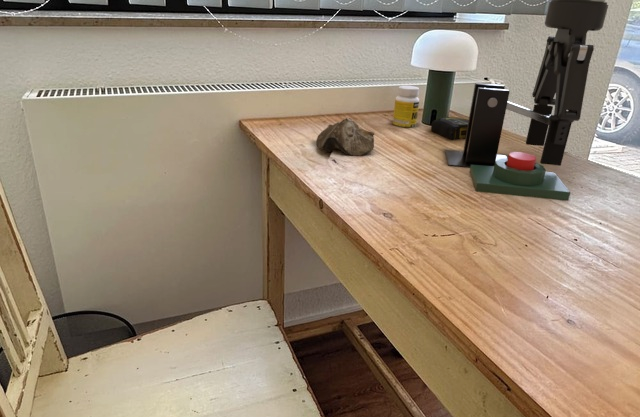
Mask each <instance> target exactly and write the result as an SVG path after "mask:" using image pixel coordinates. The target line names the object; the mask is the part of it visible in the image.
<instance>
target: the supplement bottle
mask: <svg viewBox="0 0 640 417" xmlns="http://www.w3.org/2000/svg"><path fill="white" fill-rule="evenodd" d="M397 94H398V95H397V96H395V99H394V108H393V117H392V125H393V126H395V127H398V128H406V129H411V128H415V127H417V122H418V114H419V109H420V108H419V107H420V98H419V97H418V96H419V94H420V88H419V87H418V86H414V85H400V86H398V90H397Z"/></svg>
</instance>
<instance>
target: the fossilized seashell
mask: <svg viewBox="0 0 640 417" xmlns="http://www.w3.org/2000/svg"><path fill="white" fill-rule="evenodd" d="M317 135H318V136H317V138H316V143H315V145H316V146H315V147H316V148H317V150H319V151H324V152H328V153H329V152H330V153H333V151H341V152H342V153H343V154H345V155H347V156H349V157H363V156H367V154H369V153H370V152H372V150H374V148H375V138H374V136H375V132H373V131H370V130H366V129H363V128H361V127H360V126H359V125H358V123H357V122H356V121H354V120H353V119H352V118H350V117H345V118H344V119H342V120H340V121H338V122H335V123H334V124H328V125H327V127H326V128H324V129H323V130H322V131H321V132H320V133H319V134H317Z"/></svg>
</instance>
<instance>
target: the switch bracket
mask: <svg viewBox="0 0 640 417" xmlns="http://www.w3.org/2000/svg"><path fill="white" fill-rule="evenodd" d="M483 87H485V88H483ZM510 93H511V91H510V90H509V89H506V85H504V84H492V83H481V82H480V83H479V82H475V83H474V86H473V92H472V98H471V103H470V109H469V116H468V120H469V121H468V127H467V132H466V138H465V139H464V145H463V150H450V149H445V150H444V154H445V158H446V162H447V166H448V167H454V168H455V167H457V168H467V169H470V166H471V165H481V166H492V167H494V165H495V161H497V160H499V159H502V158H508V156H507V155H506V154H498V151H499V146H500V141H501V136H502V132H503V127H504V121H505V116H506V112H507V109H506V107H507V102H509V97H510Z"/></svg>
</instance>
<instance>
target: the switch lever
mask: <svg viewBox="0 0 640 417" xmlns="http://www.w3.org/2000/svg"><path fill="white" fill-rule="evenodd" d="M483 88H485V87H483ZM506 110H507V111H511V112H513V113H515V114H519V115H521V116H525V117H527V118H530V119H531V118H532V119H535V120H537V121H540V122H543V123H546V124H548V125H549V124H550V121H549V120H548V117H549V116H551V115H552V114H551V115H550V114H546V115H543V114H541V113H538V112H535V111H533V109H530V108H527V107H525V106H522V105H519V104H516V103H513V102H510V101H508V102H507V107H506Z"/></svg>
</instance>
